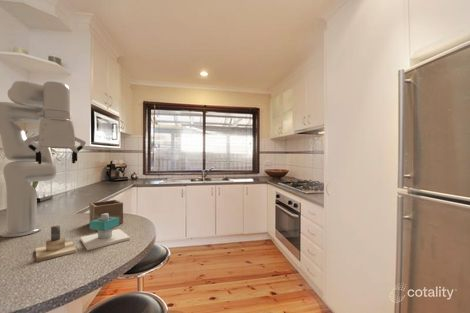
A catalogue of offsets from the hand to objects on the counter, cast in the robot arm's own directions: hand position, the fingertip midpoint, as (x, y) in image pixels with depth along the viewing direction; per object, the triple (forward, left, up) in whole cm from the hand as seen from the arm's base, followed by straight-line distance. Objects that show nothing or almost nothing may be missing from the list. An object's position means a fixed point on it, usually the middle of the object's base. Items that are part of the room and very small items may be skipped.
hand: (57, 163), depth 80 cm
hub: (+5, +14, -30) cm, 34 cm away
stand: (+5, -1, -30) cm, 31 cm away
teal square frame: (+5, +14, -25) cm, 29 cm away
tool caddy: (-20, +20, -30) cm, 41 cm away
